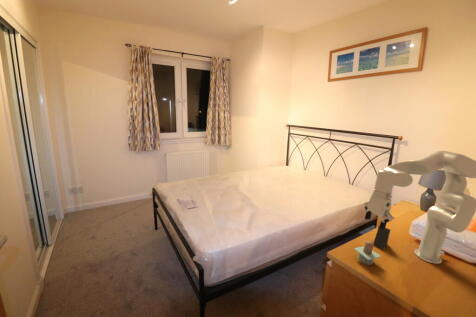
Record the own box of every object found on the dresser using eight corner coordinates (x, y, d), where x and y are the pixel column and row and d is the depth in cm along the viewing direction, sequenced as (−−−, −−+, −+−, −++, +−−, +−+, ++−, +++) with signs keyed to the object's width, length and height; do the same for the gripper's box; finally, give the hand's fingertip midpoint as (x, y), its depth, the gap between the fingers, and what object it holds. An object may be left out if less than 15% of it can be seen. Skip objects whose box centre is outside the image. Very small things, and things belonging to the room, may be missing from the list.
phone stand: (383, 250, 136) (388, 232, 134) (372, 245, 140) (377, 227, 138) (387, 244, 143) (391, 227, 140) (376, 240, 147) (381, 223, 144)
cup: (365, 255, 129) (367, 248, 128) (376, 264, 122) (377, 257, 121) (355, 256, 127) (356, 249, 126) (364, 265, 121) (366, 258, 120)
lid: (365, 246, 130) (368, 236, 128) (381, 257, 121) (384, 246, 120) (353, 249, 126) (356, 238, 125) (368, 260, 118) (371, 249, 116)
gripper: (402, 200, 109) (394, 232, 113) (374, 187, 125) (367, 215, 129) (390, 200, 107) (382, 233, 111) (363, 187, 123) (356, 216, 127)
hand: (374, 223), depth 120 cm, fingers open, 9 cm apart
